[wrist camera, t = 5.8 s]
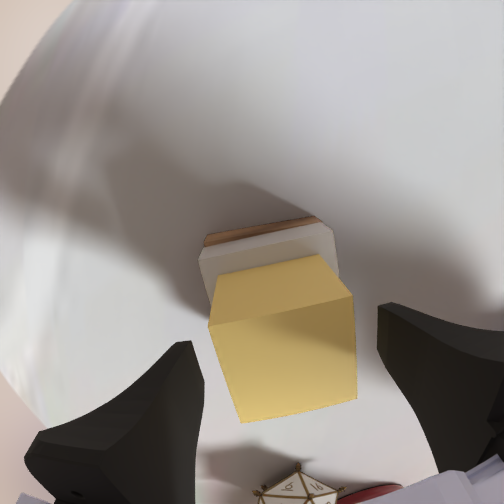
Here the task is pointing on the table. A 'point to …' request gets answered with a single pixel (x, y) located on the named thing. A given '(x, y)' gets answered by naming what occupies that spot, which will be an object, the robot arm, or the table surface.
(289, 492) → the game die
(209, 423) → the table surface
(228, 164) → the table surface
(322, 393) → the mustard cube
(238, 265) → the tower top slab
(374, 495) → the canister
